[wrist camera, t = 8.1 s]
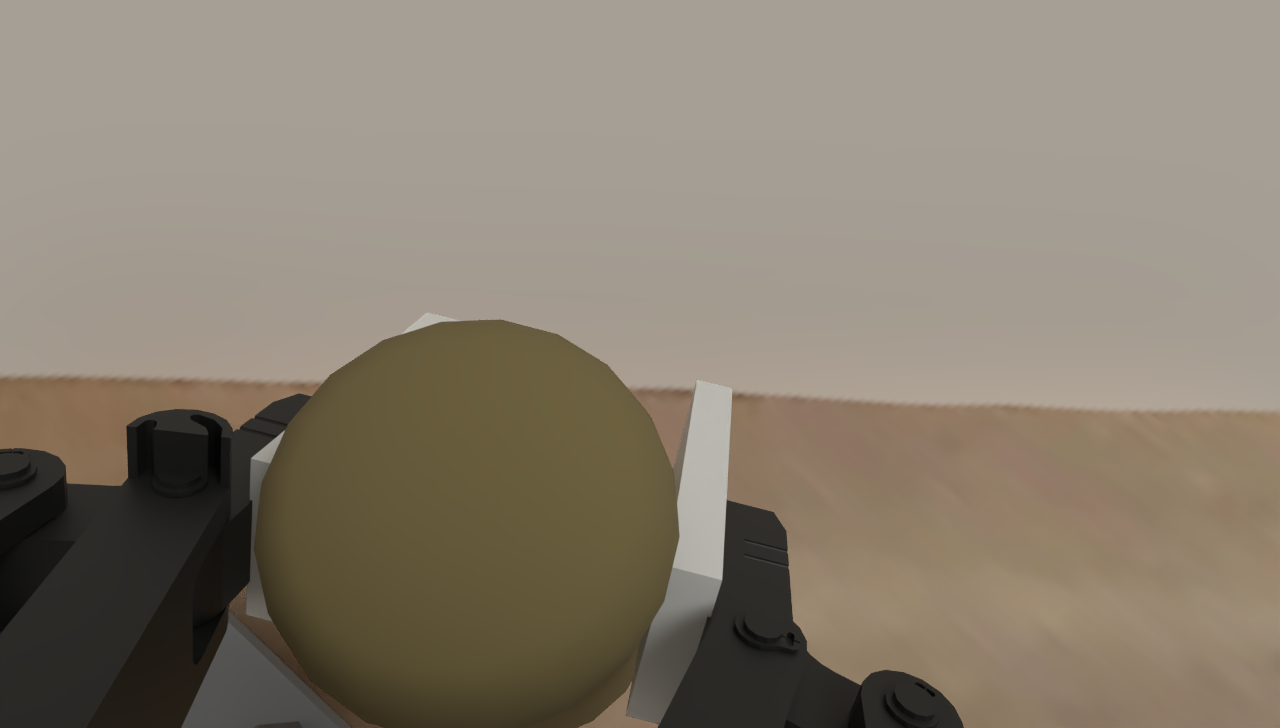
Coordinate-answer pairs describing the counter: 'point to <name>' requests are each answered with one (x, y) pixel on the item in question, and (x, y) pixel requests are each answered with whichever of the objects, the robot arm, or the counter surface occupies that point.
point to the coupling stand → (255, 689)
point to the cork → (469, 531)
